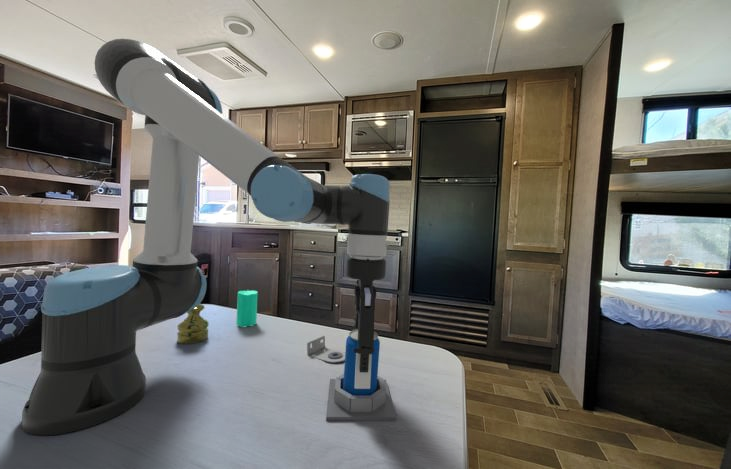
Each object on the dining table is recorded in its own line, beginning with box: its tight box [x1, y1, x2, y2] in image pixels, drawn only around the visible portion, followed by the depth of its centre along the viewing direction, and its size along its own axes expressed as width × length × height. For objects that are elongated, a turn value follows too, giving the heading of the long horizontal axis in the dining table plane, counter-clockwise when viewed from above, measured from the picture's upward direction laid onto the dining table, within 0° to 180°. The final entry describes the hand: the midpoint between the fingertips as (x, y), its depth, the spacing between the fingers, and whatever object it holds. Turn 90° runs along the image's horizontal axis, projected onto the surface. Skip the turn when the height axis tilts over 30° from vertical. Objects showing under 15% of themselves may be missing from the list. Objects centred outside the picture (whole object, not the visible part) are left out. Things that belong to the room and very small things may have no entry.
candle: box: [235, 290, 259, 327], centre depth 91 cm, size 6×6×12 cm
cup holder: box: [325, 373, 397, 421], centre depth 54 cm, size 12×12×3 cm
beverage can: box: [343, 328, 381, 396], centre depth 54 cm, size 6×6×12 cm
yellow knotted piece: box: [177, 303, 210, 345], centre depth 77 cm, size 7×8×10 cm
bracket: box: [306, 335, 346, 364], centre depth 72 cm, size 7×10×4 cm, turn 57°
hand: (360, 372), depth 54 cm, fingers open, 9 cm apart
